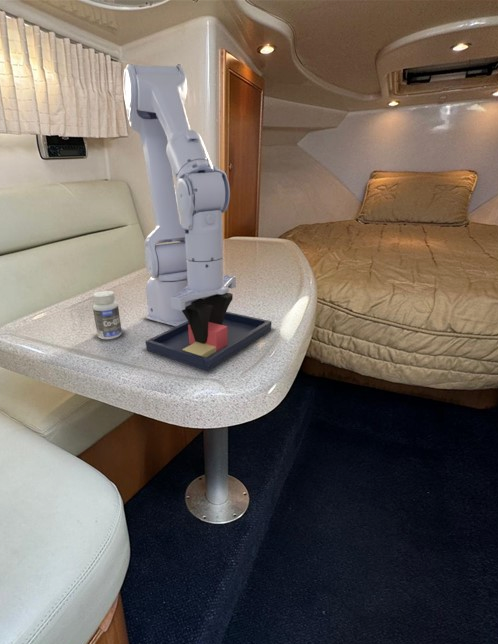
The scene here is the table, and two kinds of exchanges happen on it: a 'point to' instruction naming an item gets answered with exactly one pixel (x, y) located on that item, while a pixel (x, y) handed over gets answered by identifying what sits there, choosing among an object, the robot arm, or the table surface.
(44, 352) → the table surface
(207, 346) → the beige square tile
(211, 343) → the eraser
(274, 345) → the table surface
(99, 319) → the pill bottle
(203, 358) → the tray
